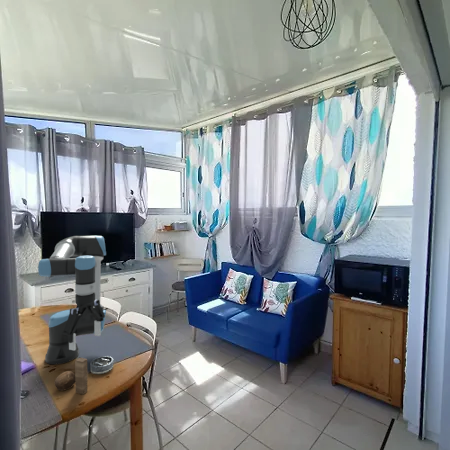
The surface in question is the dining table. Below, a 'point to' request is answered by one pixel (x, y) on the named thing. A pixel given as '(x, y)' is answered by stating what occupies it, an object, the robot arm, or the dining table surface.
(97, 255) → the robot arm
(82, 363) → the brown wooden block
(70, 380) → the brown oval lump
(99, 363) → the tin
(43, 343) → the dining table surface
